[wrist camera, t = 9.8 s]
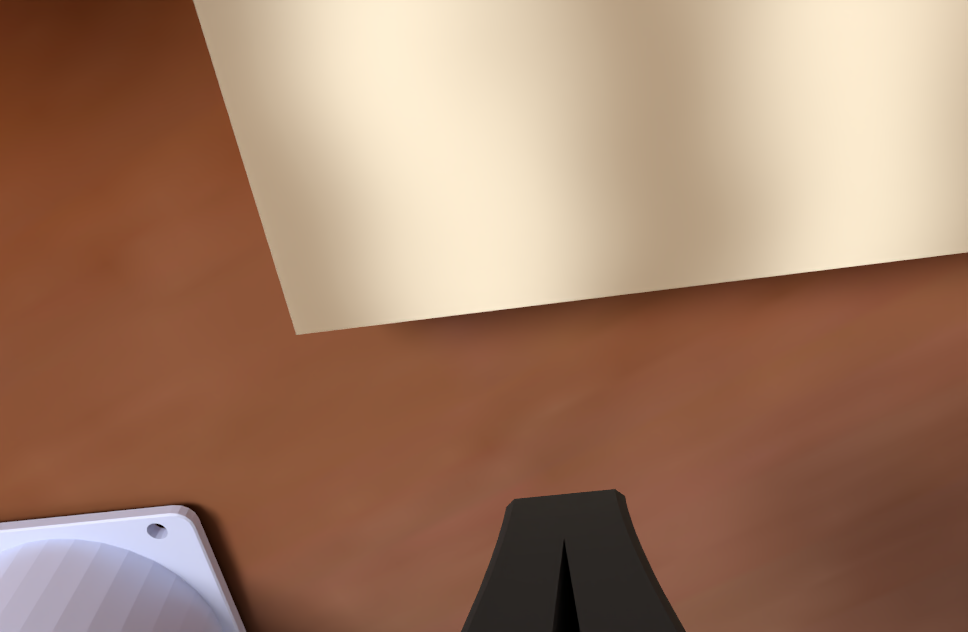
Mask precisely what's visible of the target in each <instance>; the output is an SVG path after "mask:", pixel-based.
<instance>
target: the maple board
mask: <svg viewBox="0 0 968 632" xmlns="http://www.w3.org/2000/svg"><path fill="white" fill-rule="evenodd" d="M193 1H194V5H195V8H196V11H197V14H198V18H199V21H200V24H201V27H202V30H203V34H204V37H205V40H206V43H207V47H208V50H209V53H210V56H211V60H212V63H213V66H214V69H215V73H216V76H217V79H218V82H219V86H220V89H221V92H222V95H223V98H224V102H225V105H226V108H227V111H228V115H229V118H230V121H231V124H232V128H233V131H234V134H235V137H236V141H237V144H238V147H239V150H240V154H241V157H242V160H243V163H244V166H245V170H246V173H247V176H248V179H249V183H250V186H251V189H252V192H253V196H254V199H255V202H256V205H257V209H258V212H259V215H260V218H261V222H262V225H263V228H264V231H265V234H266V238H267V241H268V244H269V247H270V251H271V254H272V257H273V260H274V264H275V267H276V270H277V273H278V277H279V280H280V283H281V286H282V290H283V293H284V296H285V299H286V302H287V306H288V309H289V312H290V315H291V319H292V322H293V325H294V328H295V332H296V335H299V334H307V333H315V332H323V331H331V330H339V329H348V328H356V327H364V326H372V325H380V324H388V323H396V322H405V321H413V320H421V319H429V318H437V317H445V316H453V315H462V314H470V313H478V312H486V311H494V310H502V309H510V308H518V307H527V306H535V305H543V304H551V303H559V302H567V301H575V300H584V299H592V298H600V297H608V296H616V295H624V294H632V293H641V292H649V291H657V290H665V289H673V288H681V287H689V286H697V285H706V284H714V283H722V282H730V281H738V280H746V279H754V278H763V277H771V276H779V275H787V274H795V273H803V272H811V271H820V270H828V269H836V268H844V267H852V266H860V265H868V264H876V263H885V262H893V261H901V260H909V259H917V258H925V257H933V256H942V255H950V254H958V253H966V252H968V0H193Z"/></svg>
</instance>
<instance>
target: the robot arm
mask: <svg viewBox="0 0 968 632" xmlns="http://www.w3.org/2000/svg"><path fill="white" fill-rule="evenodd" d="M154 523H155V524H160V525H162V526H164V527H165V528H160V527H158V526H156V525H155V524H154ZM0 632H246V630H245V628H244V625H243V623H242V620H241V618H240V616H239V613H238V611H237V608H236V606H235V604H234V601H233V599H232V596H231V594H230V592H229V589H228V587H227V584H226V582H225V580H224V577H223V575H222V572H221V570H220V568H219V565H218V563H217V560H216V558H215V556H214V553H213V551H212V548H211V546H210V544H209V541H208V539H207V536H206V534H205V532H204V529H203V527H202V524H201V522H200V520H199V518H198V516H197V515H196V513H195V512H194V511H192V510H191V509H189V508H187V507H184V506H181V505H170V506H160V507H151V508H141V509H131V510H121V511H111V512H102V513H92V514H82V515H72V516H62V517H52V518H43V519H33V520H23V521H13V522H3V523H0ZM461 632H686V631H685V629H684V628H683V626H682V624H681V622H680V621H679V619H678V617H677V615H676V613H675V612H674V610H673V608H672V606H671V604H670V603H669V601H668V599H667V597H666V596H665V594H664V592H663V590H662V588H661V586H660V584H659V582H658V580H657V578H656V576H655V575H654V573H653V570H652V568H651V566H650V564H649V562H648V560H647V558H646V555H645V553H644V551H643V549H642V547H641V544H640V542H639V539H638V537H637V535H636V532H635V529H634V527H633V524H632V521H631V518H630V515H629V512H628V508H627V504H626V499H625V496H624V495H623V494H621V493H620V492H618V491H617V490H615V489H612V490H602V491H592V492H581V493H571V494H561V495H551V496H541V497H531V498H520V499H514V500H513V501H512V502H511V503H510V504H509V505H508V506H507V507H506V511H505V515H504V520H503V523H502V527H501V530H500V533H499V537H498V540H497V543H496V546H495V549H494V552H493V555H492V558H491V561H490V563H489V566H488V568H487V571H486V574H485V576H484V579H483V582H482V584H481V587H480V589H479V592H478V594H477V596H476V599H475V601H474V603H473V606H472V608H471V610H470V612H469V615H468V617H467V619H466V622H465V624H464V626H463V629H462V631H461Z"/></svg>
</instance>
